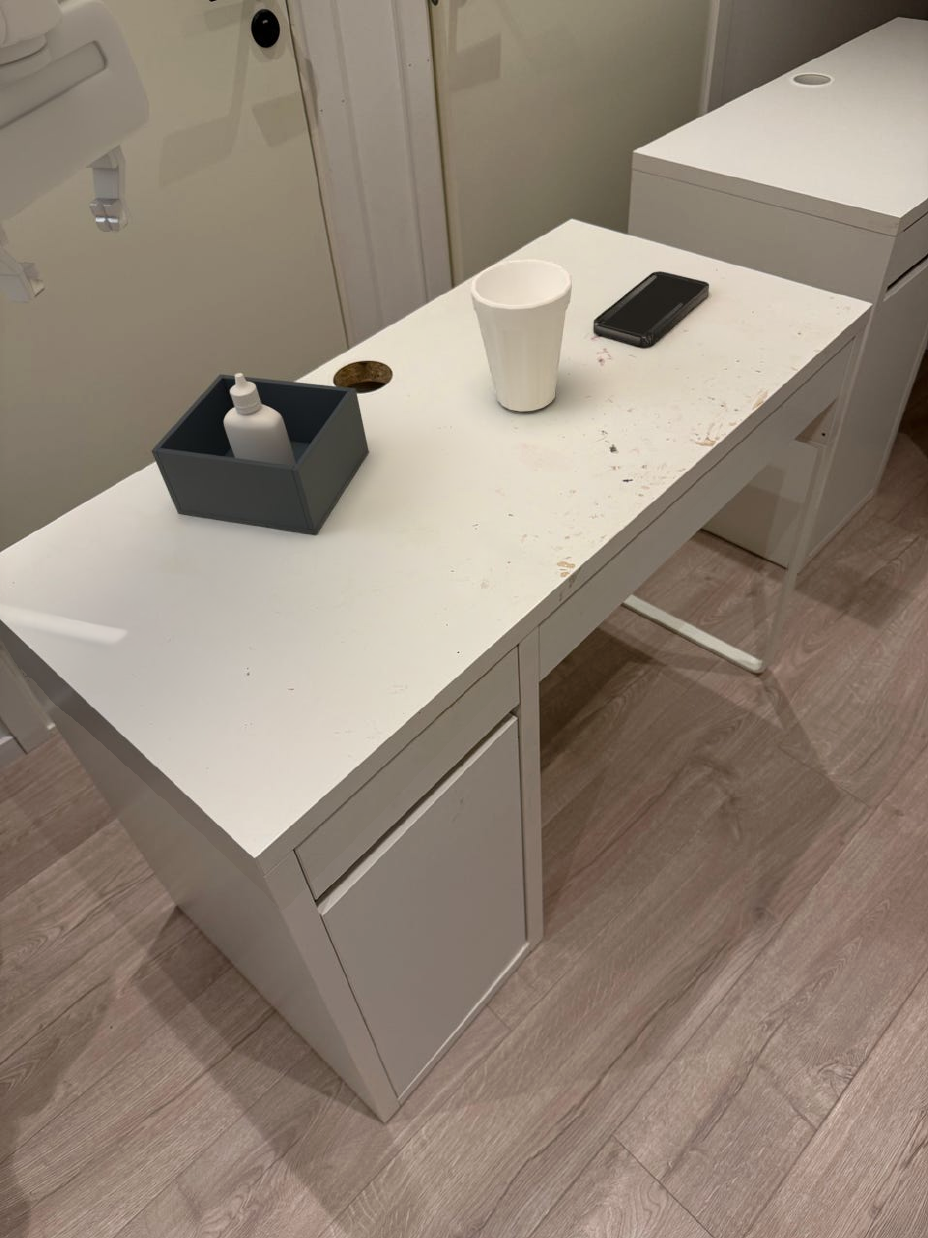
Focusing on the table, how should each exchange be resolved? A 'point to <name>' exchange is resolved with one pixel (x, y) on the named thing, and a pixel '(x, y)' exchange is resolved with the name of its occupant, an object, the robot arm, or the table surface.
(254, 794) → the table surface
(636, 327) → the phone
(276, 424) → the eye dropper bottle
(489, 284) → the cup
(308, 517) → the bin
